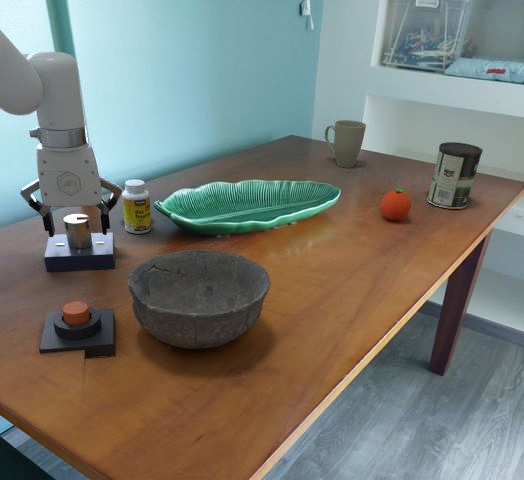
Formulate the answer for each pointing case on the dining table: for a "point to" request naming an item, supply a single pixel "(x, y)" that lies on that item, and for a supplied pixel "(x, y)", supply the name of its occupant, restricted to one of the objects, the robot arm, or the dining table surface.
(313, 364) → the dining table surface
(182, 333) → the bowl
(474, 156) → the coffee can
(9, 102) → the robot arm
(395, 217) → the clementine
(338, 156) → the mug
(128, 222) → the supplement bottle
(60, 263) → the lock panel
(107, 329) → the button base
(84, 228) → the lock knob
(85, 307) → the orange short cylinder
